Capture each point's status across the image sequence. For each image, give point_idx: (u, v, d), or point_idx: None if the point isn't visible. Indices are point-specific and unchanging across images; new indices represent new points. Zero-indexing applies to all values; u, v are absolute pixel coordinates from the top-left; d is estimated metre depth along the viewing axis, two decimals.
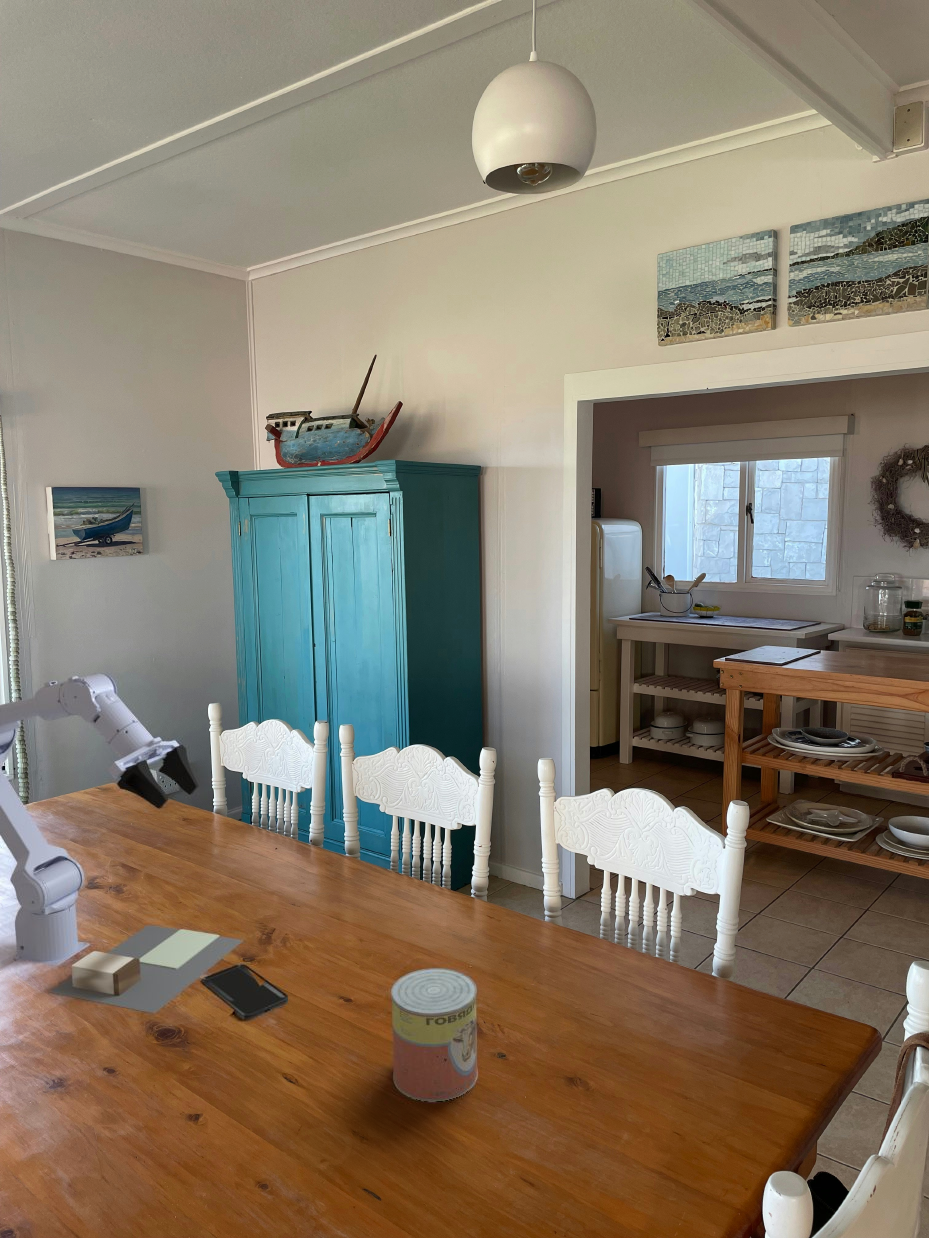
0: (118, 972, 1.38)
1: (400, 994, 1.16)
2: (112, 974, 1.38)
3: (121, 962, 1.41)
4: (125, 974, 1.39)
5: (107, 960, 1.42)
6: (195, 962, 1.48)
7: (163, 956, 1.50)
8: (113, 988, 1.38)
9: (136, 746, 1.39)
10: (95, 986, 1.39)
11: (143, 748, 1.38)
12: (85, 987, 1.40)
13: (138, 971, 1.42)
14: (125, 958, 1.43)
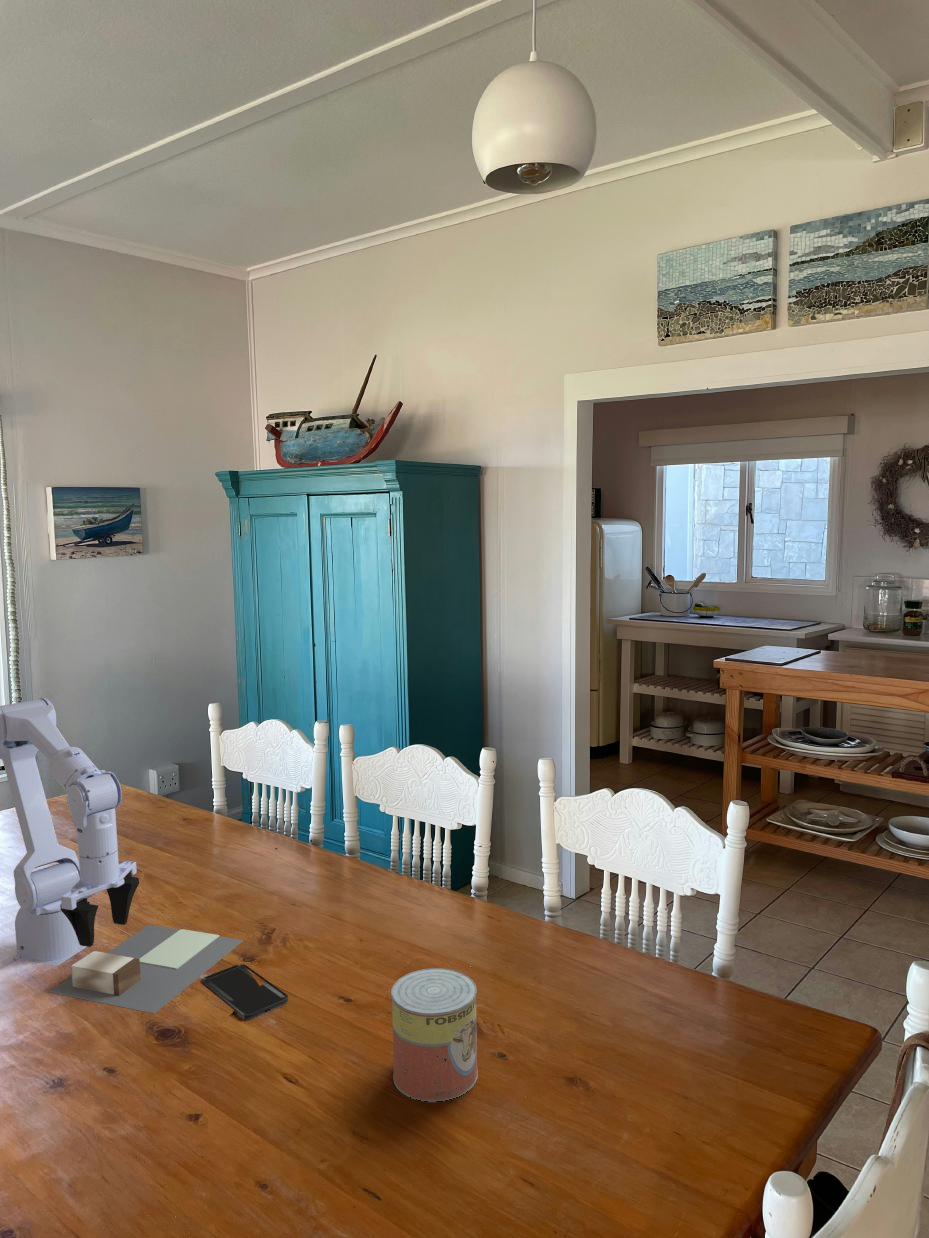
0: (118, 972, 1.38)
1: (400, 994, 1.16)
2: (112, 974, 1.38)
3: (121, 962, 1.41)
4: (125, 974, 1.39)
5: (107, 960, 1.42)
6: (195, 962, 1.48)
7: (163, 956, 1.50)
8: (113, 988, 1.38)
9: (99, 880, 1.37)
10: (95, 986, 1.39)
11: (103, 887, 1.37)
12: (85, 987, 1.40)
13: (138, 971, 1.42)
14: (125, 958, 1.43)
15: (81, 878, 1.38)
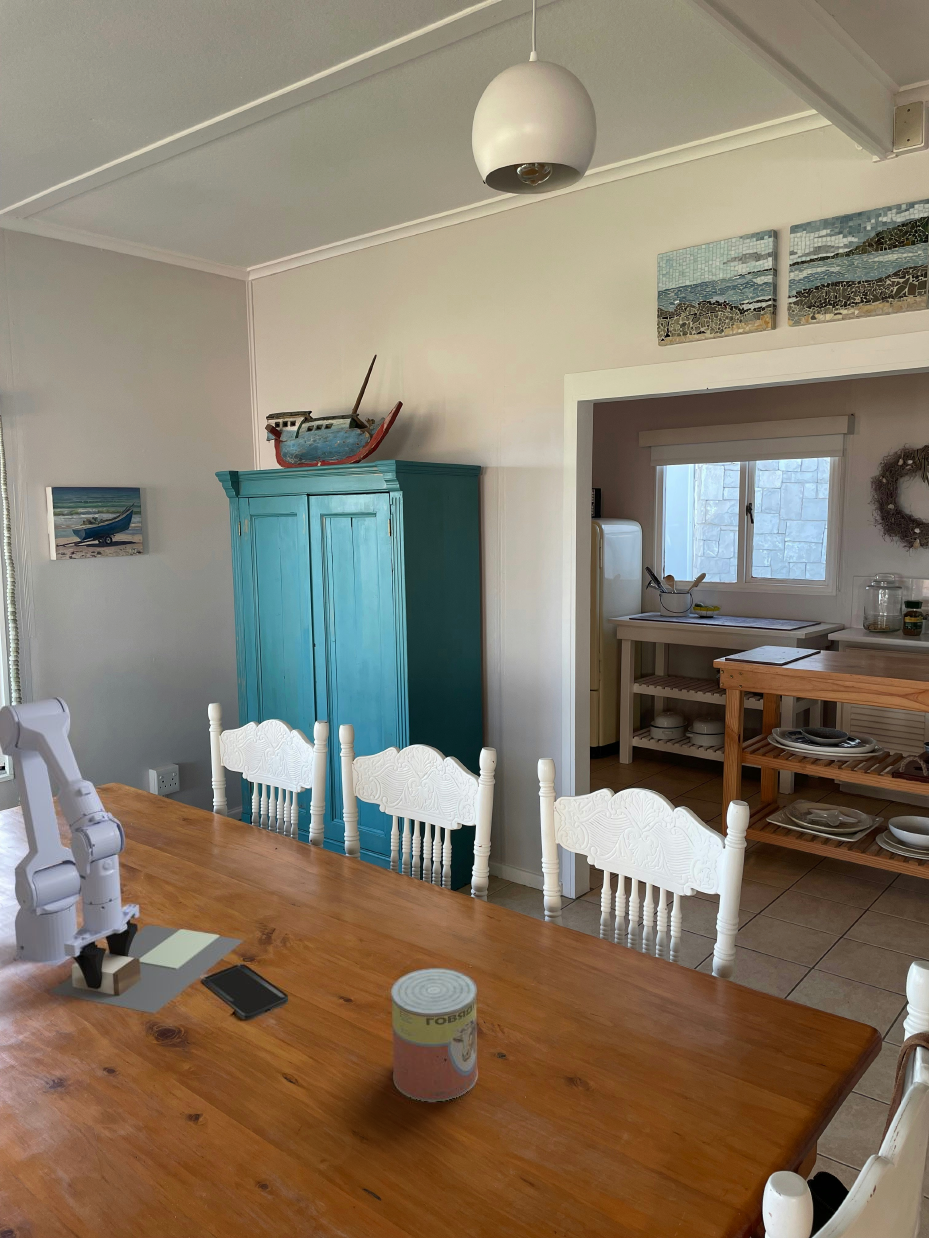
0: (118, 972, 1.38)
1: (400, 994, 1.16)
2: (112, 974, 1.38)
3: (121, 962, 1.41)
4: (125, 974, 1.39)
5: (107, 960, 1.42)
6: (195, 962, 1.48)
7: (163, 956, 1.50)
8: (113, 988, 1.38)
9: (102, 926, 1.38)
10: None
11: (106, 933, 1.38)
12: (85, 987, 1.40)
13: (138, 971, 1.42)
14: (125, 958, 1.43)
15: (84, 924, 1.39)
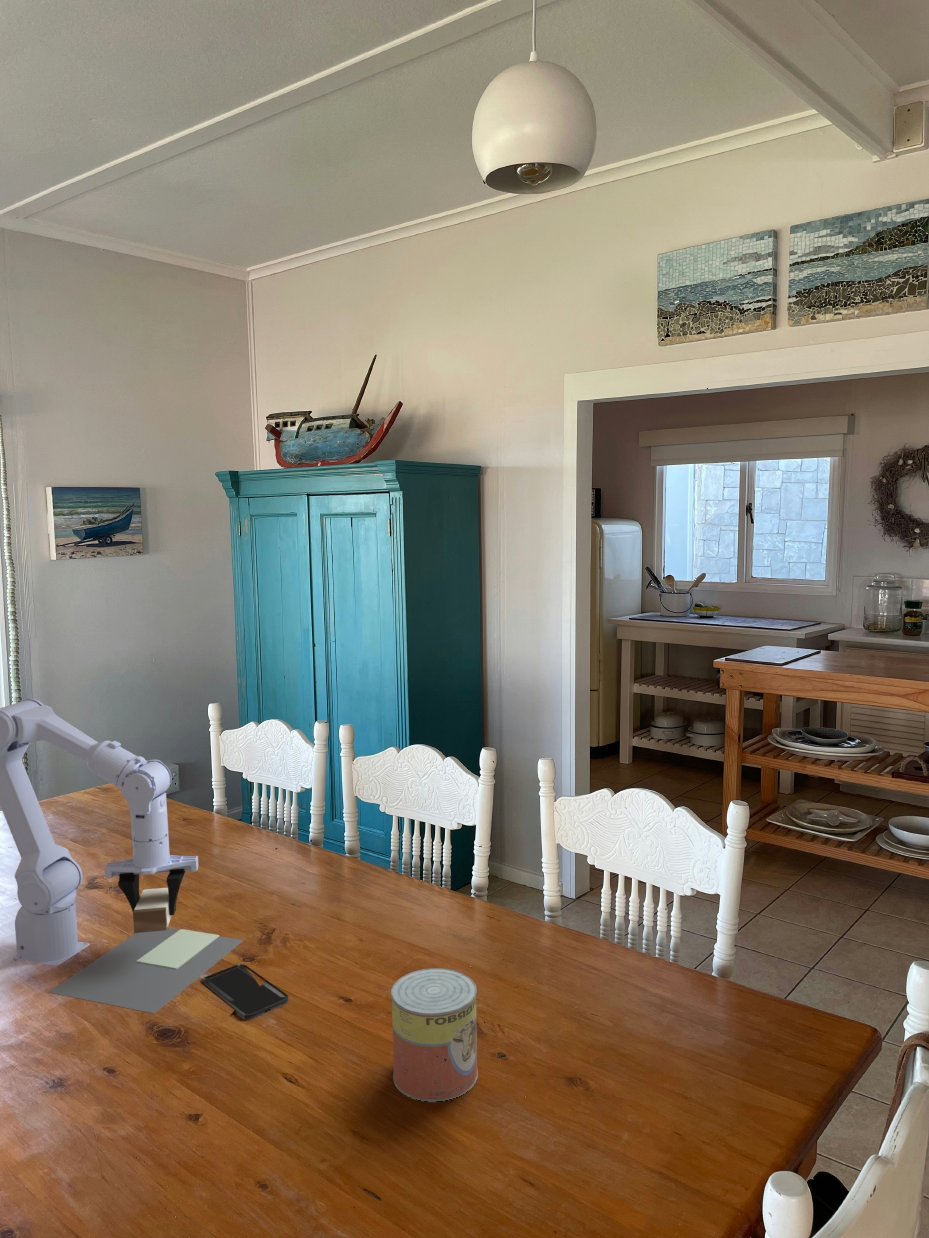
0: (136, 911, 1.44)
1: (400, 994, 1.16)
2: (134, 910, 1.44)
3: (155, 905, 1.46)
4: (144, 916, 1.44)
5: (157, 898, 1.48)
6: (195, 962, 1.48)
7: (163, 956, 1.50)
8: None
9: (135, 862, 1.45)
10: None
11: (135, 869, 1.45)
12: None
13: (163, 921, 1.44)
14: (164, 904, 1.46)
15: None
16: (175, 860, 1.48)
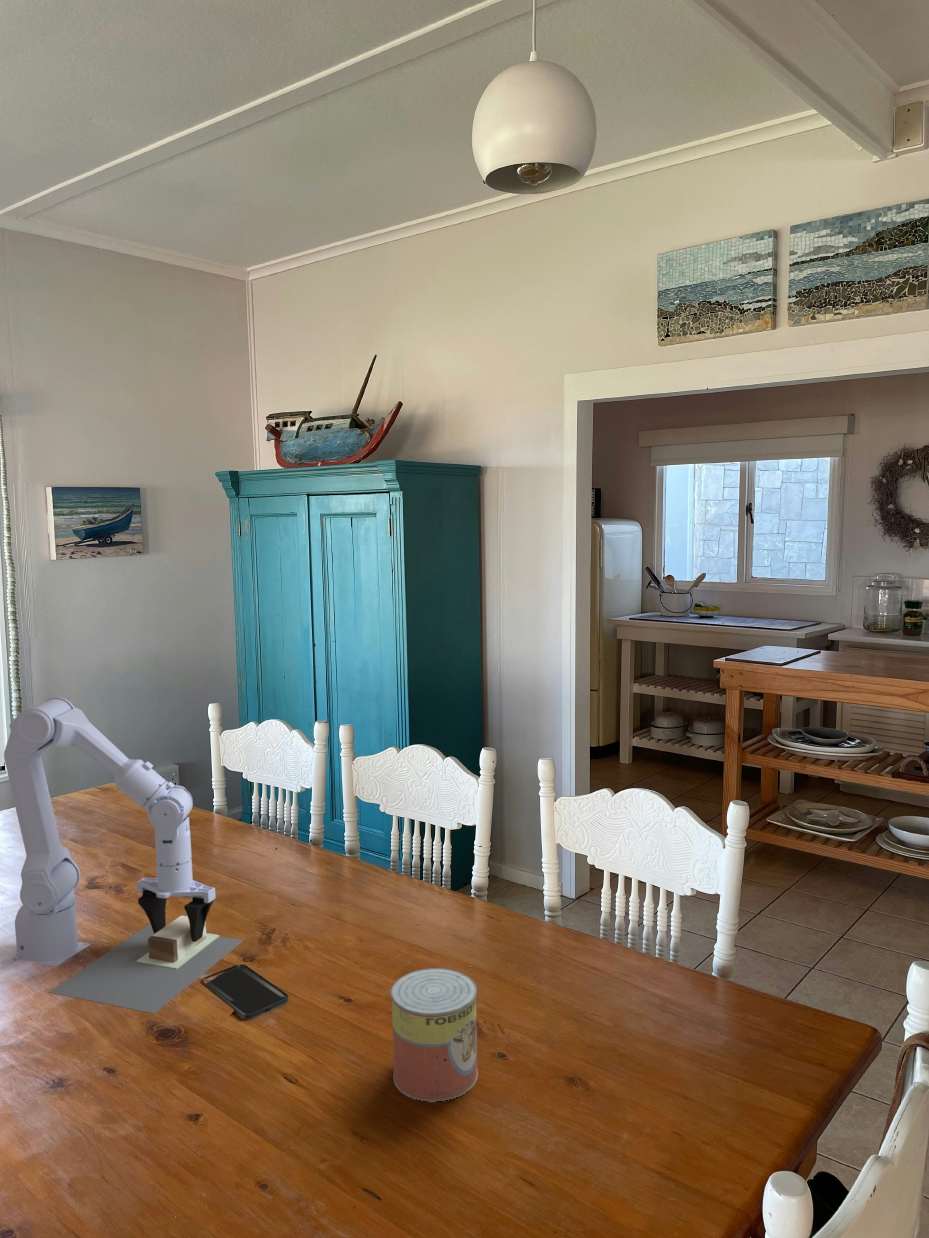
0: (151, 938, 1.49)
1: (400, 994, 1.16)
2: (151, 936, 1.50)
3: (171, 935, 1.50)
4: (156, 944, 1.48)
5: (180, 928, 1.52)
6: (195, 962, 1.48)
7: None
8: None
9: None
10: None
11: (155, 890, 1.50)
12: None
13: (171, 953, 1.48)
14: (179, 936, 1.50)
15: None
16: (193, 888, 1.50)
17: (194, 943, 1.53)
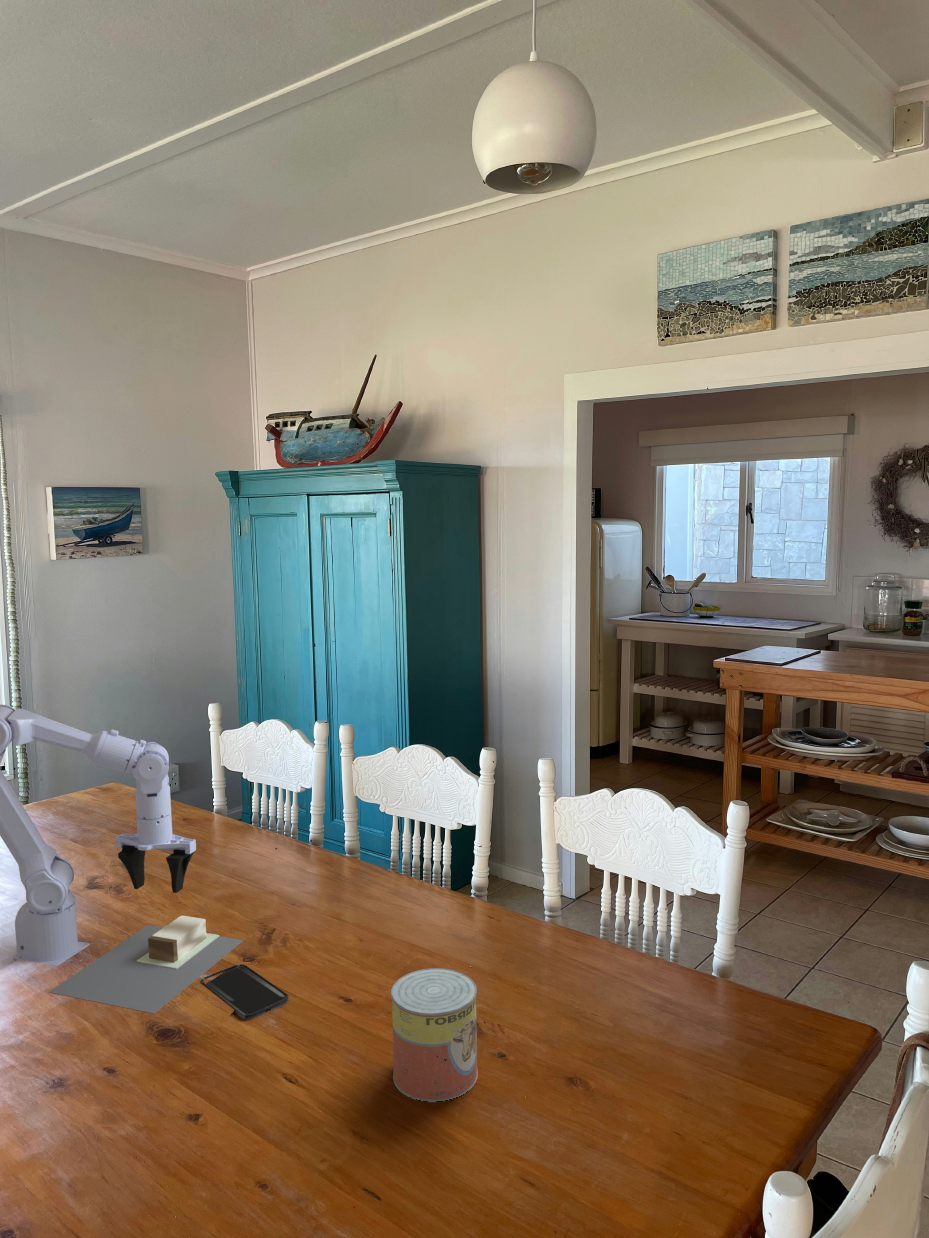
0: (151, 938, 1.49)
1: (400, 994, 1.16)
2: (151, 936, 1.50)
3: (171, 935, 1.50)
4: (156, 944, 1.48)
5: (180, 928, 1.52)
6: (195, 962, 1.48)
7: None
8: None
9: (138, 837, 1.54)
10: None
11: (136, 844, 1.53)
12: None
13: (171, 953, 1.48)
14: (179, 936, 1.50)
15: None
16: (174, 840, 1.54)
17: (194, 943, 1.53)
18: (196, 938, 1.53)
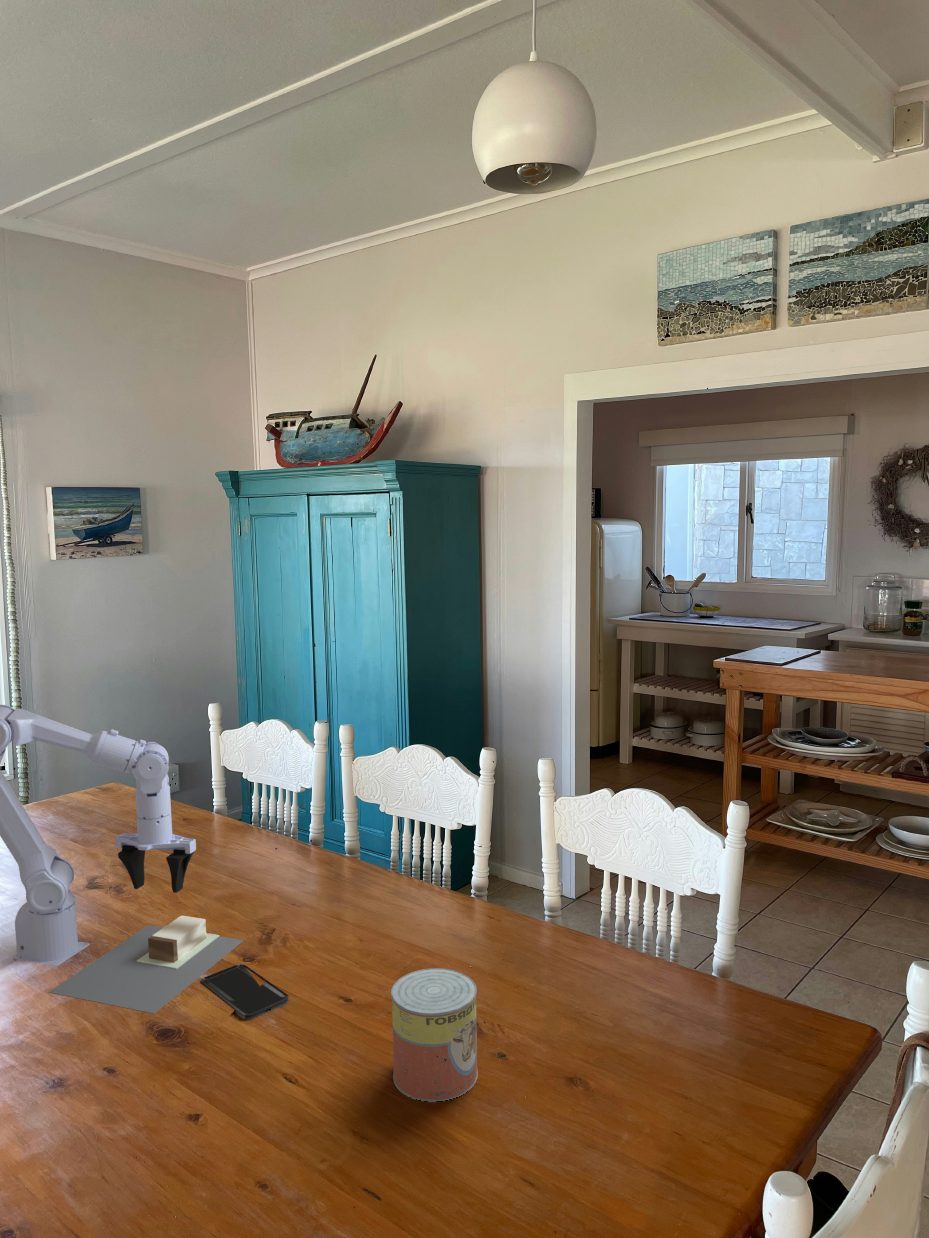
0: (151, 938, 1.49)
1: (400, 994, 1.16)
2: (151, 936, 1.50)
3: (171, 935, 1.50)
4: (156, 944, 1.48)
5: (180, 928, 1.52)
6: (195, 962, 1.48)
7: None
8: None
9: (137, 836, 1.54)
10: None
11: (136, 844, 1.53)
12: None
13: (171, 953, 1.48)
14: (179, 936, 1.50)
15: None
16: (174, 840, 1.54)
17: (194, 943, 1.53)
18: (196, 938, 1.53)
